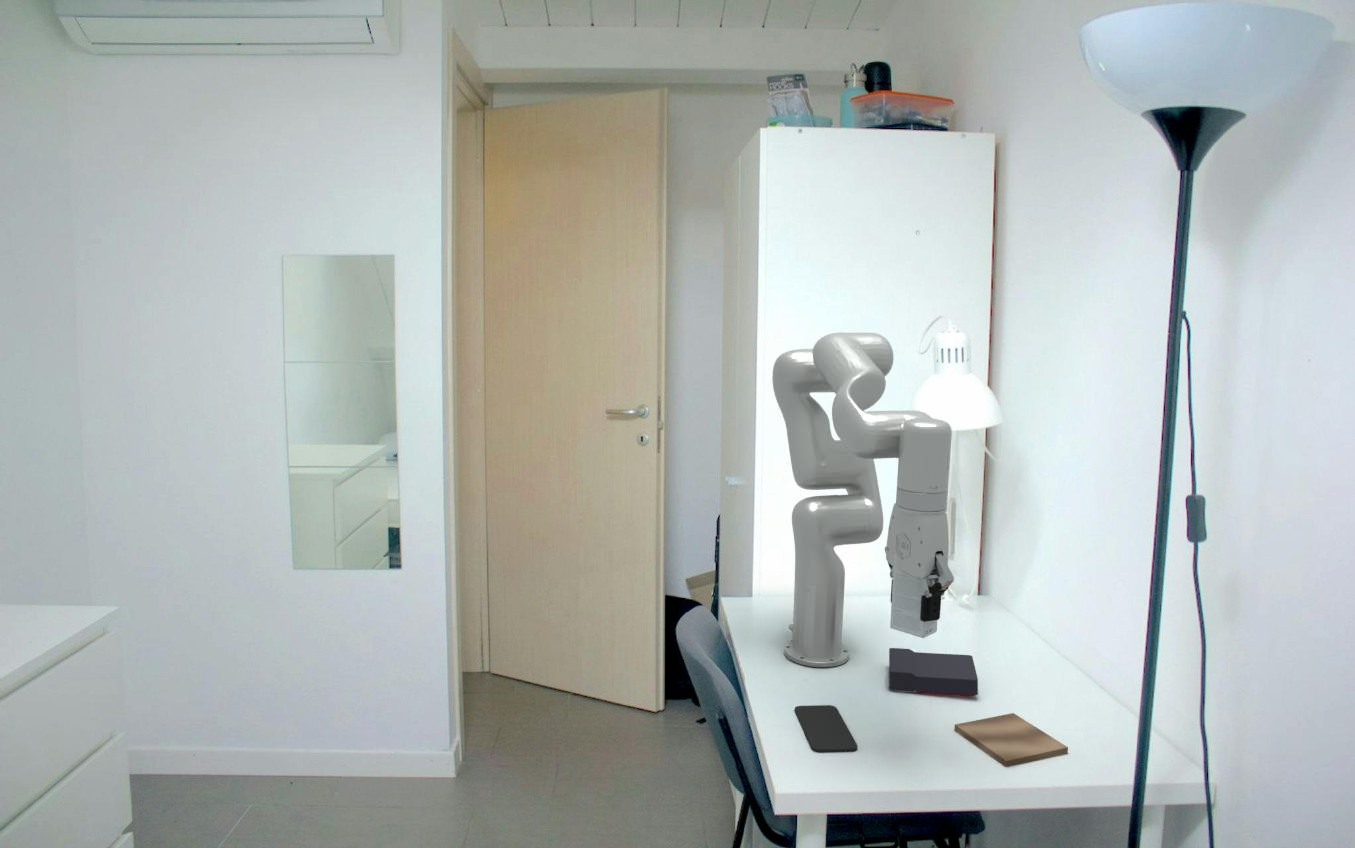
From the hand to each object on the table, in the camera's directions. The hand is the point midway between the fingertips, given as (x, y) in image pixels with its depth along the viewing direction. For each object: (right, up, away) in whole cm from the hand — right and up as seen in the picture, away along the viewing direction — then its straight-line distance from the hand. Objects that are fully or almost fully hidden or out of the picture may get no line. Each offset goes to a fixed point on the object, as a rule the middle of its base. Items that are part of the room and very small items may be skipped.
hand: (914, 610), depth 140 cm
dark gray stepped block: (+9, -14, +24) cm, 29 cm away
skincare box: (0, -3, +1) cm, 3 cm away
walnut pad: (+16, -22, +4) cm, 27 cm away
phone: (-13, -21, +7) cm, 26 cm away
